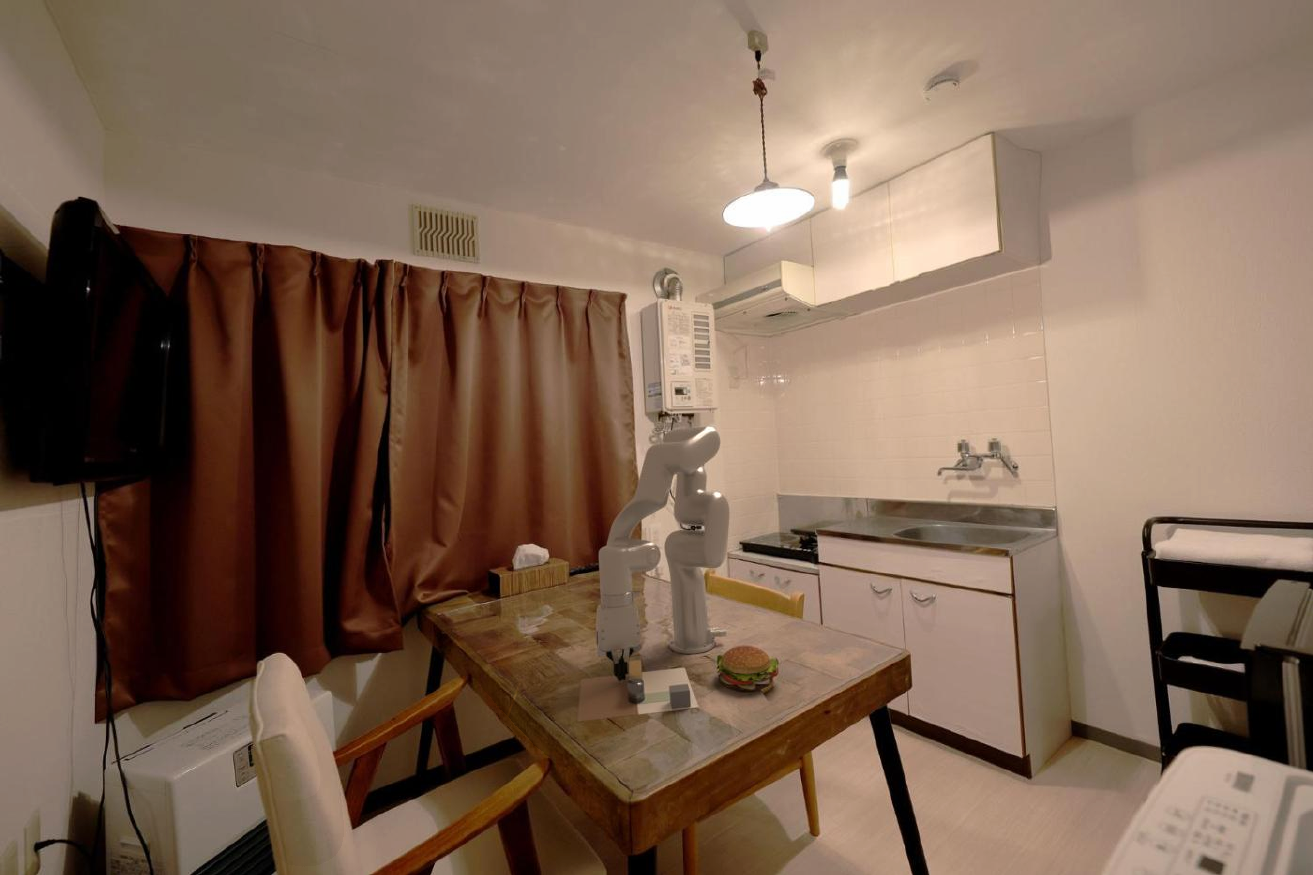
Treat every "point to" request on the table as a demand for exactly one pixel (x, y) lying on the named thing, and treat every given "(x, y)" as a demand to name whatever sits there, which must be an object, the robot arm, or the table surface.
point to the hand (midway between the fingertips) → (620, 678)
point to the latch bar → (635, 682)
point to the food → (747, 669)
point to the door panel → (612, 695)
